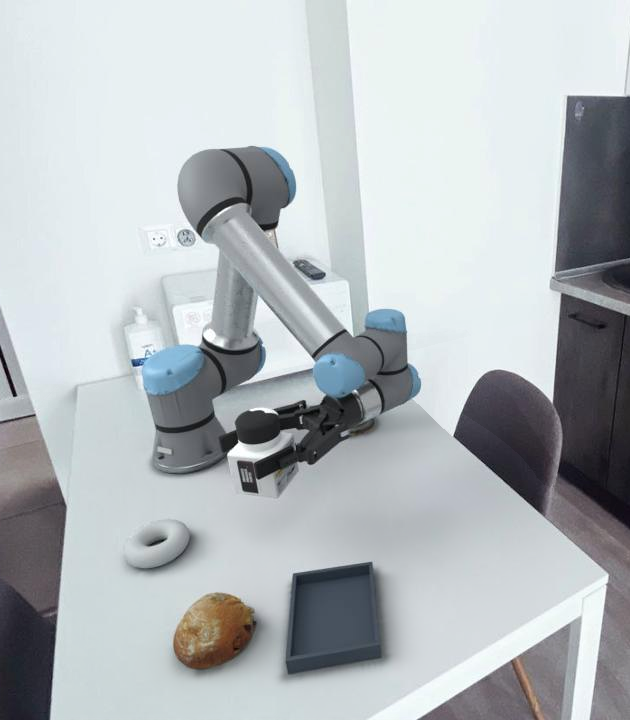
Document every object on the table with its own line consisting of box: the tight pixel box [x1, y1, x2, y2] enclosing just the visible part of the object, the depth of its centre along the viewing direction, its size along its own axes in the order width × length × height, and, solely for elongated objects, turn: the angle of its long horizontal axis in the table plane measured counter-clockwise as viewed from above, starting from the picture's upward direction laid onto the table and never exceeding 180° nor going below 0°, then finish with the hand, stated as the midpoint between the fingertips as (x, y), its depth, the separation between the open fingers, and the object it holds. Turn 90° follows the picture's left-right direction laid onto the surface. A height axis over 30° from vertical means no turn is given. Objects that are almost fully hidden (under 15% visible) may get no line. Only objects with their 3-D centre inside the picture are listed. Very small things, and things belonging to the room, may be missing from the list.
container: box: [226, 407, 300, 499], centre depth 88 cm, size 8×8×13 cm
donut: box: [123, 518, 191, 569], centre depth 91 cm, size 10×4×10 cm
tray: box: [284, 561, 382, 675], centre depth 78 cm, size 15×12×2 cm
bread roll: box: [172, 591, 258, 670], centre depth 75 cm, size 10×10×8 cm
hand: (237, 457), depth 85 cm, fingers closed on container, 10 cm apart
